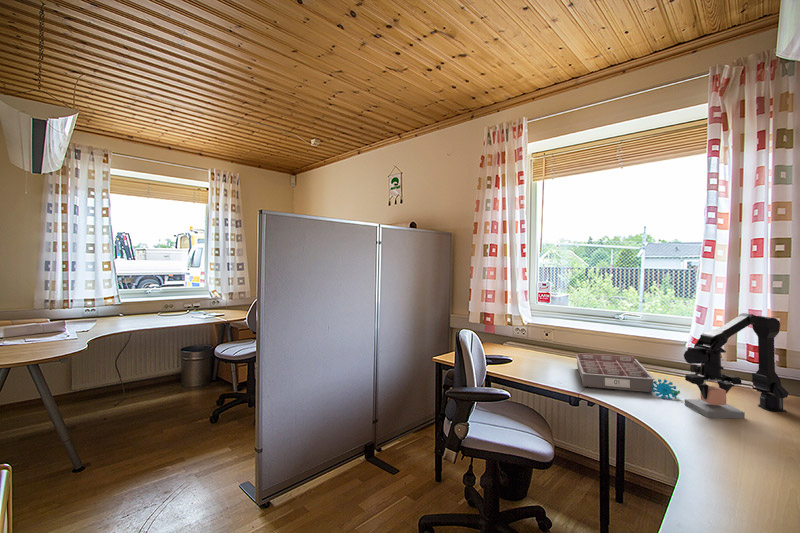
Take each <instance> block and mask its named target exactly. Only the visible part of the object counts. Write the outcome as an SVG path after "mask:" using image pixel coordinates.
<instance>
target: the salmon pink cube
mask: <svg viewBox="0 0 800 533" xmlns="http://www.w3.org/2000/svg"><path fill="white" fill-rule="evenodd" d="M700 399H701V400H703V401H705V402H707V403H708V404H710V405H726V404H727V394H726V390H723V389H721V388H719V386H717V385H708V394H707V399H704V398H703V396H702V393H701V392H700Z"/></svg>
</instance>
